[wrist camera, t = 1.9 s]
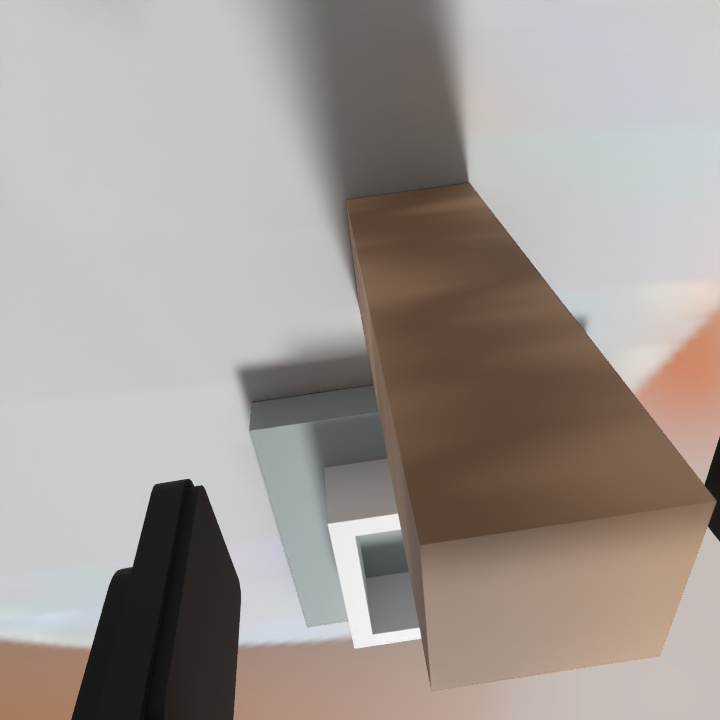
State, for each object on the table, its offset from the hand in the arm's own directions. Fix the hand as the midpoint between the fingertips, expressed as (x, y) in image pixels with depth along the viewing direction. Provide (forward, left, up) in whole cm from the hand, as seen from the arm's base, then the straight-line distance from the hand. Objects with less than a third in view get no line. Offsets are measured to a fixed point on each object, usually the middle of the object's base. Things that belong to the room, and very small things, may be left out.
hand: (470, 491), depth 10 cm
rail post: (-1, -1, -9) cm, 9 cm away
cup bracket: (-1, +11, -9) cm, 14 cm away
